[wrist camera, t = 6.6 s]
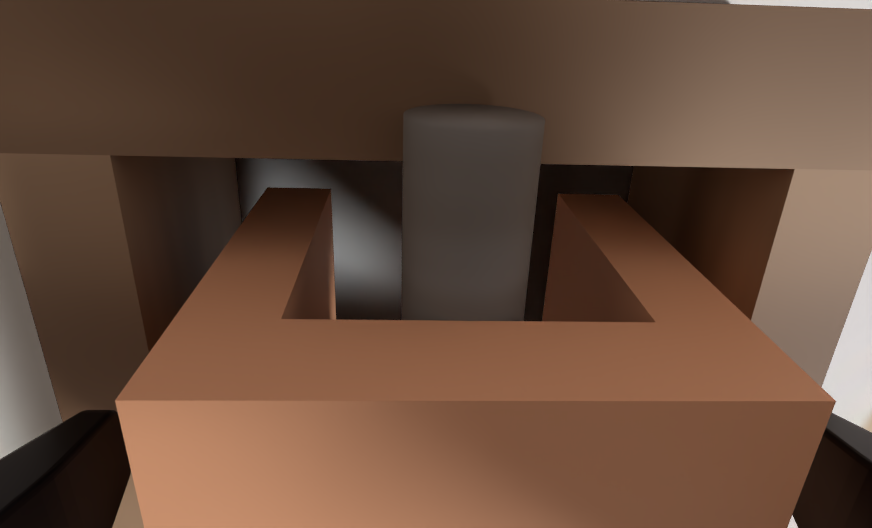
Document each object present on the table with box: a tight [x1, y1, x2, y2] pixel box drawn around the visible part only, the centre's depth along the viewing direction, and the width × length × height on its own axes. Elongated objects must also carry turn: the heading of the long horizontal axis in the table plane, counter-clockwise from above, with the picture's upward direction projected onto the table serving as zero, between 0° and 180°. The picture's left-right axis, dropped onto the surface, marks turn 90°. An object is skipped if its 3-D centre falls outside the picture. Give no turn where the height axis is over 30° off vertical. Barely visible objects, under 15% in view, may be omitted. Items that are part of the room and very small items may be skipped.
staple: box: [115, 187, 836, 528], centre depth 9 cm, size 7×4×6 cm, turn 88°
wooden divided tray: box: [0, 0, 872, 528], centre depth 12 cm, size 16×12×7 cm
